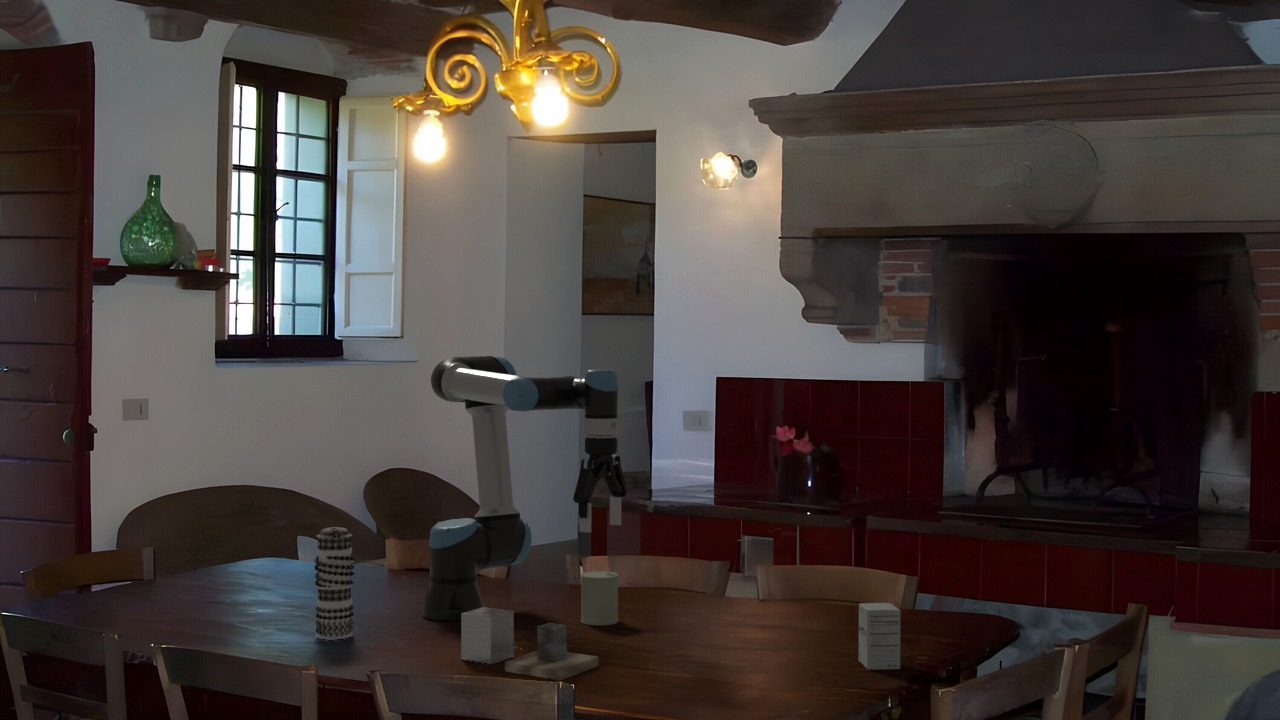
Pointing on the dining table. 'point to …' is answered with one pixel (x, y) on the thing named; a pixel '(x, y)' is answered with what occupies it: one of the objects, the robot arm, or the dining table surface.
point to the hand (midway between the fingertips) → (600, 528)
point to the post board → (550, 667)
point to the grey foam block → (487, 635)
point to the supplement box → (879, 636)
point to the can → (599, 598)
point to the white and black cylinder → (334, 584)
